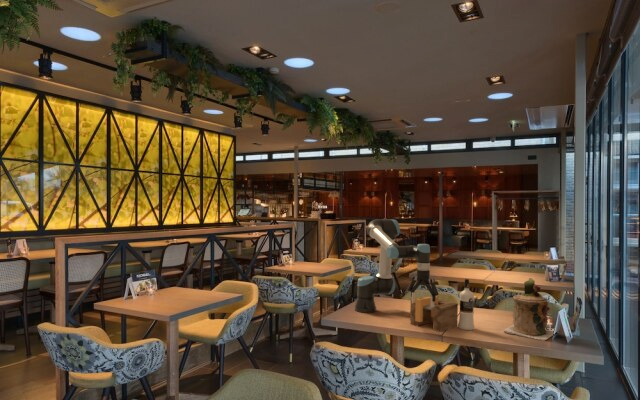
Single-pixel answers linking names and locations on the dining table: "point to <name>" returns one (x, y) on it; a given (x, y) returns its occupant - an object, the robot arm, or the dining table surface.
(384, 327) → the dining table surface
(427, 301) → the wooden u-shaped block
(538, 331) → the cookie jar
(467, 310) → the vodka
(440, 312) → the dark wooden box
